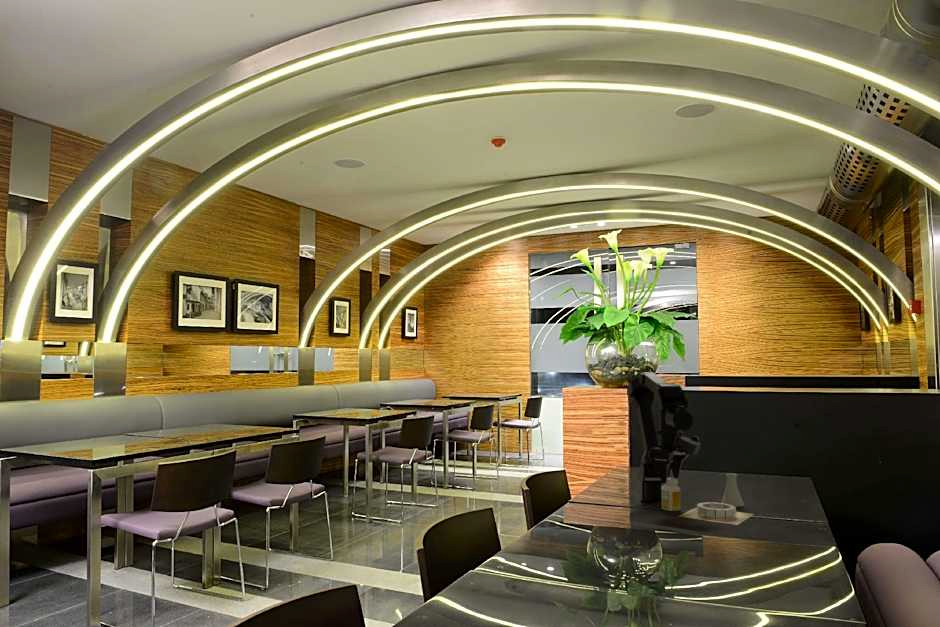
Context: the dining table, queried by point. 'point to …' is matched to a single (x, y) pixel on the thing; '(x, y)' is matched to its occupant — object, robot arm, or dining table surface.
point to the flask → (732, 492)
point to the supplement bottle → (671, 495)
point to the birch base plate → (737, 520)
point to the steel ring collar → (716, 510)
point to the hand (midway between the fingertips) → (670, 480)
